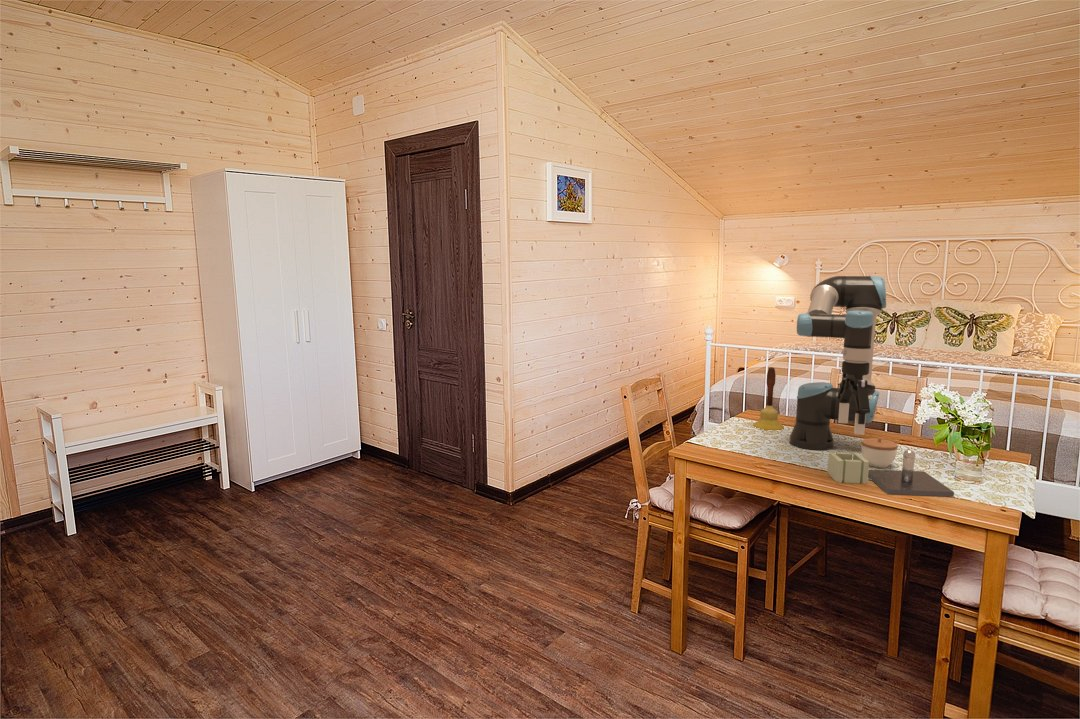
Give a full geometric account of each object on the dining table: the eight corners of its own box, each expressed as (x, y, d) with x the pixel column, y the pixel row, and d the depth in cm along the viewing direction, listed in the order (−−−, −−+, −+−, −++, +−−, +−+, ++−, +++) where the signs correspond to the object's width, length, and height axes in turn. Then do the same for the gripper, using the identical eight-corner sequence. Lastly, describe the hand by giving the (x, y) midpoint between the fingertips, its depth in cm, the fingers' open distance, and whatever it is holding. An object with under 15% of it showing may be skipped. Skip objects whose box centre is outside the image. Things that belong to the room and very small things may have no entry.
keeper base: (864, 473, 199) (866, 440, 197) (923, 475, 197) (926, 442, 195) (887, 494, 181) (891, 458, 180) (953, 496, 179) (957, 460, 177)
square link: (827, 472, 200) (828, 452, 199) (856, 473, 199) (858, 453, 198) (836, 482, 191) (838, 460, 190) (867, 483, 190) (869, 461, 189)
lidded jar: (884, 459, 213) (886, 433, 212) (902, 470, 203) (905, 442, 201) (853, 459, 213) (855, 433, 212) (870, 470, 203) (872, 442, 201)
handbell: (748, 423, 262) (751, 365, 258) (776, 422, 263) (779, 365, 259) (760, 431, 250) (763, 370, 246) (789, 430, 250) (793, 370, 246)
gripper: (829, 355, 202) (825, 418, 205) (858, 367, 177) (853, 438, 181) (853, 355, 201) (848, 419, 204) (886, 367, 176) (880, 439, 180)
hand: (850, 428), depth 192 cm, fingers open, 13 cm apart
